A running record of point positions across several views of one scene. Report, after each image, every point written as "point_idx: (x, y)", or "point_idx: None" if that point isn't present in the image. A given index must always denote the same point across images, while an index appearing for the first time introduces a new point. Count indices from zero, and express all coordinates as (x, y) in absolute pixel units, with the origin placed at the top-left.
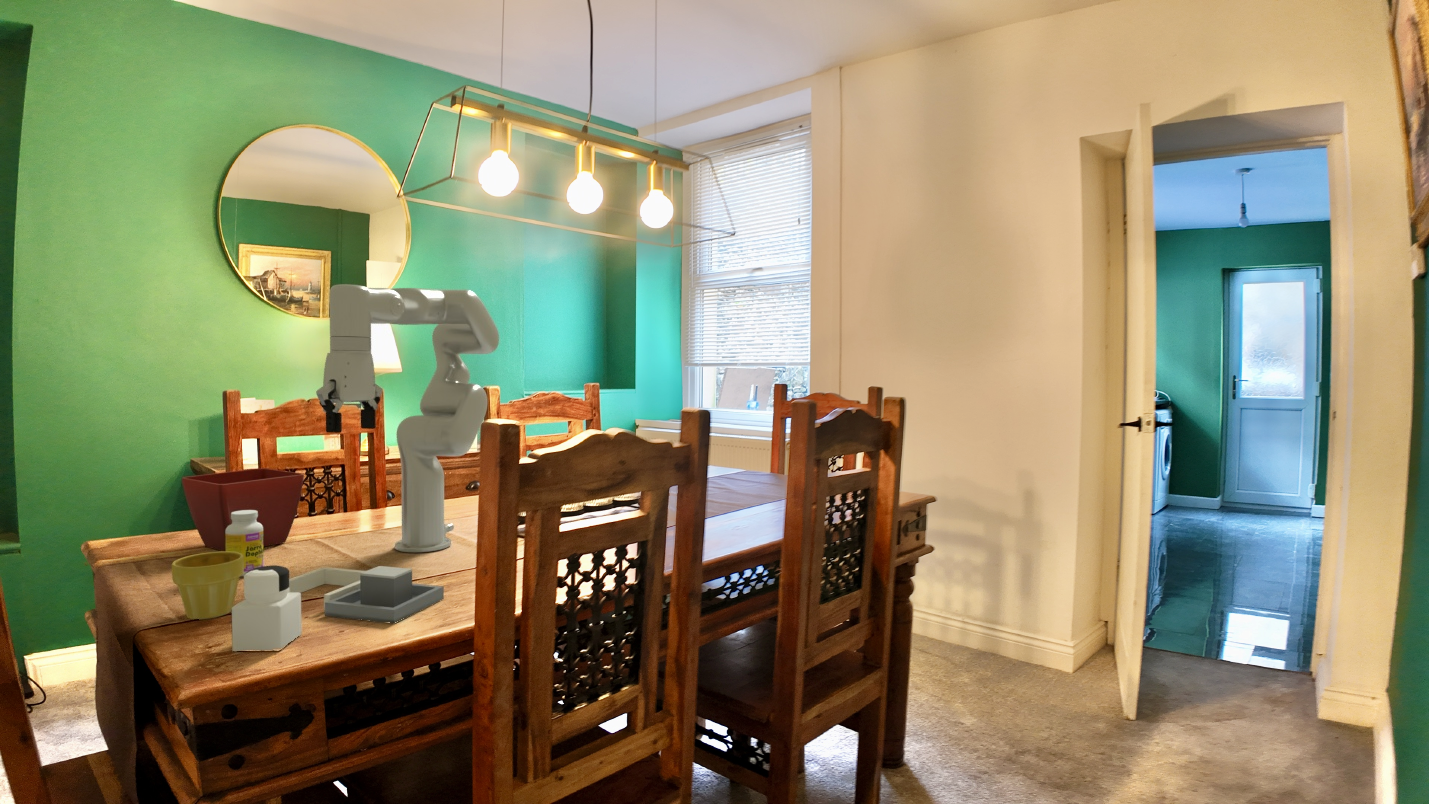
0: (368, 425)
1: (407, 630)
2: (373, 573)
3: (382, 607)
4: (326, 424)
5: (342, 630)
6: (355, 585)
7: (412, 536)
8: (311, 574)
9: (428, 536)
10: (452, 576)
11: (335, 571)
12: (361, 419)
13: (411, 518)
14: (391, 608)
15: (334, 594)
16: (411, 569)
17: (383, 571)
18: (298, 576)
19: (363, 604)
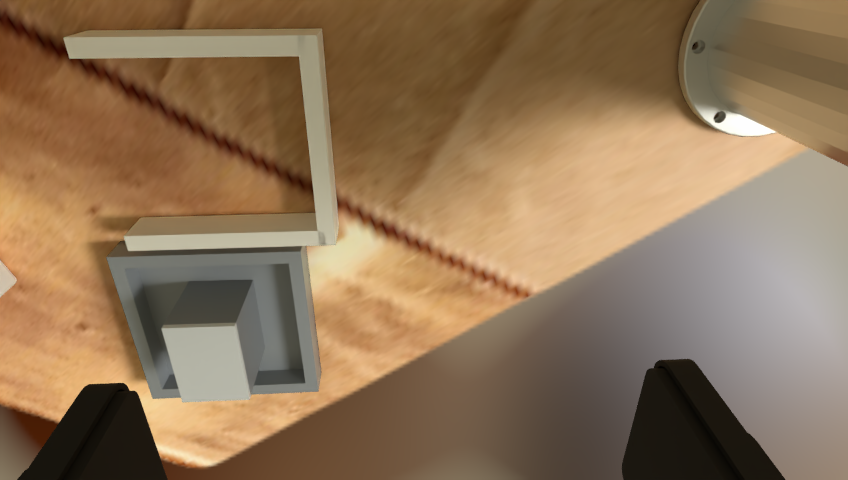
0: (641, 462)
1: (152, 411)
2: (176, 354)
3: (151, 374)
4: (42, 459)
5: (85, 325)
6: (220, 247)
7: (728, 61)
8: (244, 55)
9: (737, 109)
10: (472, 302)
11: (304, 97)
12: (699, 450)
13: (770, 71)
14: (156, 389)
15: (145, 249)
16: (247, 398)
17: (201, 362)
18: (200, 44)
19: (144, 334)
